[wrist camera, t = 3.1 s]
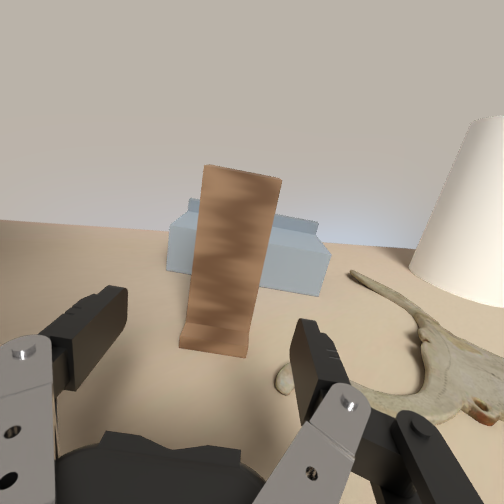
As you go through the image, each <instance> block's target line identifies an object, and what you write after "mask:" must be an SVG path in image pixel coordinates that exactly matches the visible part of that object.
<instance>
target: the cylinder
mask: <svg viewBox="0 0 504 504" xmlns="http://www.w3.org/2000/svg"><path fill="white" fill-rule="evenodd" d="M409 270H410V271H411V272H412V273H413V274H414V275H416V276H417V277H419V278H420V279H422V280H424V281H425V282H427V283H429V284H431V285H433V286H435V287H437V288H440V289H442V290H444V291H446V292H449V293H451V294H454V295H457V296H459V297H462V298H465V299H468V300H471V301H474V302H478V303H482V304H486V305H490V306H495V307H501V308H504V115H503V116H493V117H486V118H482V119H478V120H475V121H473V122H472V123H471V124H470V126H469V128H468V131H467V133H466V136H465V138H464V140H463V142H462V145H461V147H460V149H459V151H458V154H457V156H456V158H455V161H454V163H453V165H452V168H451V170H450V172H449V175H448V177H447V179H446V182H445V184H444V186H443V188H442V191H441V193H440V196H439V198H438V200H437V202H436V204H435V207H434V209H433V211H432V214H431V216H430V218H429V221H428V223H427V226H426V228H425V230H424V232H423V235H422V237H421V239H420V241H419V244H418V246H417V248H416V251H415V253H414V255H413V258H412V260H411V262H410V264H409Z"/></svg>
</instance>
